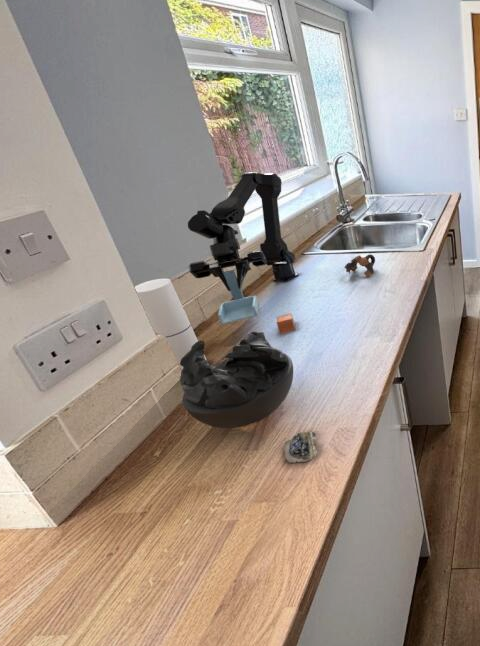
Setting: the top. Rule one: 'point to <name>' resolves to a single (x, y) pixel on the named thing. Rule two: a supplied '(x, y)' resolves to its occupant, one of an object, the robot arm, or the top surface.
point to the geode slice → (300, 447)
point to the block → (285, 323)
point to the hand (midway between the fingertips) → (234, 289)
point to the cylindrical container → (167, 315)
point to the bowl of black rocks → (236, 383)
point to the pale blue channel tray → (237, 302)
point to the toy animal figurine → (362, 262)
